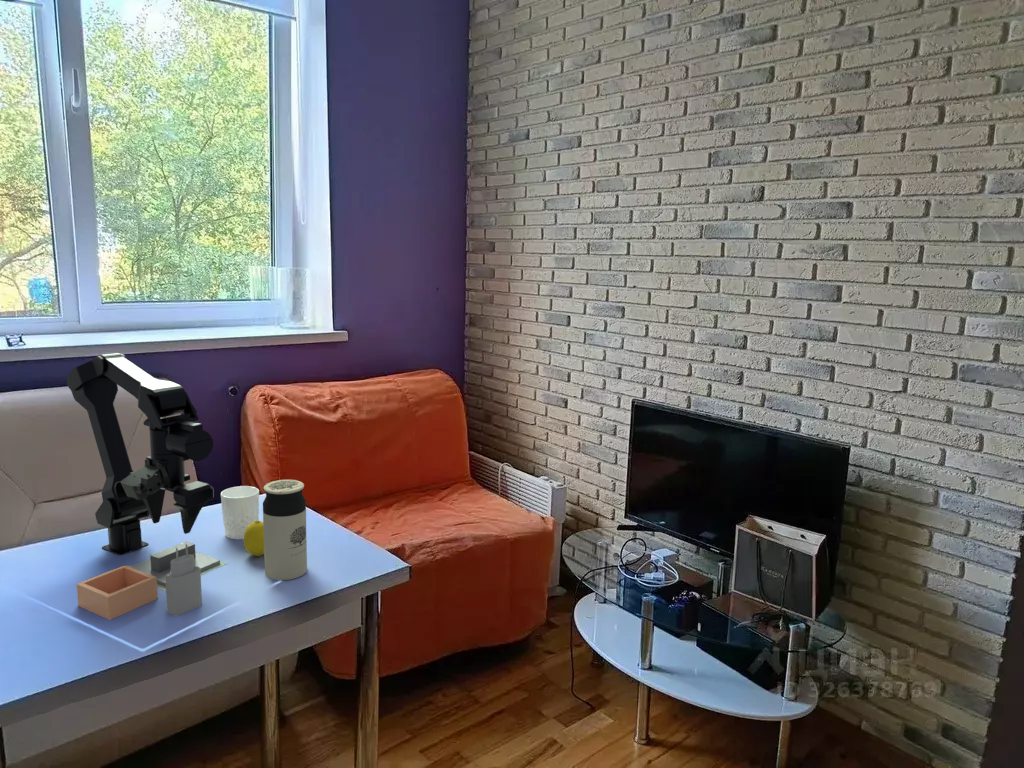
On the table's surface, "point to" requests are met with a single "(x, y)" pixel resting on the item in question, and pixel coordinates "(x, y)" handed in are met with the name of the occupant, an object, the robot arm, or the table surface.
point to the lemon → (254, 538)
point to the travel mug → (284, 530)
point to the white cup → (239, 509)
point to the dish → (117, 591)
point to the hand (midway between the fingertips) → (171, 527)
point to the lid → (161, 560)
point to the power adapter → (183, 585)
